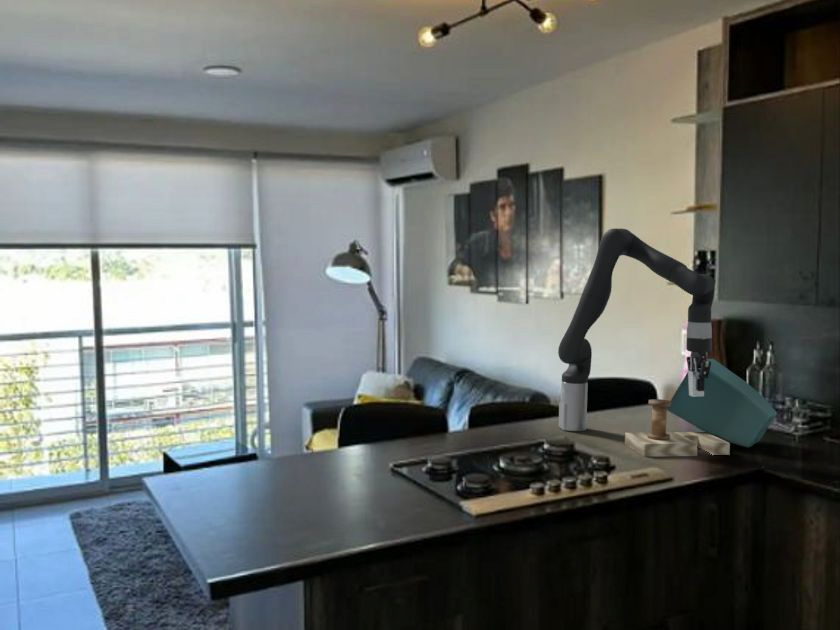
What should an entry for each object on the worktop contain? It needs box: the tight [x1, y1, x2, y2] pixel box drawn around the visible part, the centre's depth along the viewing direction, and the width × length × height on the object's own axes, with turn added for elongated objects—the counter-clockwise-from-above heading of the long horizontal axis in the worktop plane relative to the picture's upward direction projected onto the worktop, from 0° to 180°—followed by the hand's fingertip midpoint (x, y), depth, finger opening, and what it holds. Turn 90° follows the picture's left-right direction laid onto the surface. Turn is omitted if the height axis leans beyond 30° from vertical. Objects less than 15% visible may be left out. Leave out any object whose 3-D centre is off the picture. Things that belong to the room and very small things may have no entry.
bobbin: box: [647, 398, 671, 440], centre depth 243 cm, size 7×7×12 cm
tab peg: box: [687, 370, 704, 397], centre depth 241 cm, size 4×4×8 cm
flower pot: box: [667, 358, 778, 448], centre depth 255 cm, size 20×20×28 cm
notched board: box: [624, 431, 731, 458], centre depth 244 cm, size 28×16×4 cm, turn 96°
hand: (697, 389), depth 241 cm, fingers closed on tab peg, 3 cm apart
